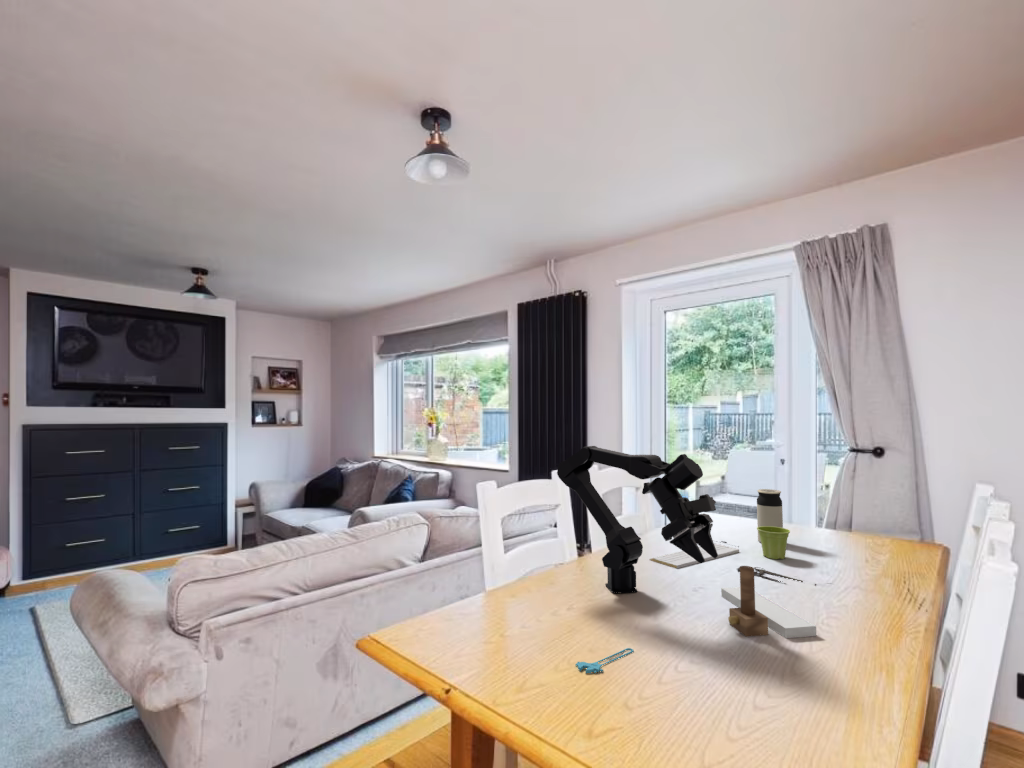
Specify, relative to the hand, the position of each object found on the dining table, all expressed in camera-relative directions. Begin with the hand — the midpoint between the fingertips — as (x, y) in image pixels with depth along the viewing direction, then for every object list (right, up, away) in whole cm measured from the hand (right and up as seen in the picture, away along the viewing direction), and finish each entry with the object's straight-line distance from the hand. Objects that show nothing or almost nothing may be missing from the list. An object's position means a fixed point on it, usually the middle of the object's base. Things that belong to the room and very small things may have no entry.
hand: (709, 559), depth 118 cm
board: (+13, -12, 0) cm, 18 cm away
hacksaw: (+31, -14, +25) cm, 42 cm away
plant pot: (+38, -15, +45) cm, 61 cm away
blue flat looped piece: (-27, -12, -21) cm, 36 cm away
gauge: (+5, -12, -8) cm, 15 cm away
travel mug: (+45, -15, +63) cm, 79 cm away
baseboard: (+13, -16, +48) cm, 52 cm away
